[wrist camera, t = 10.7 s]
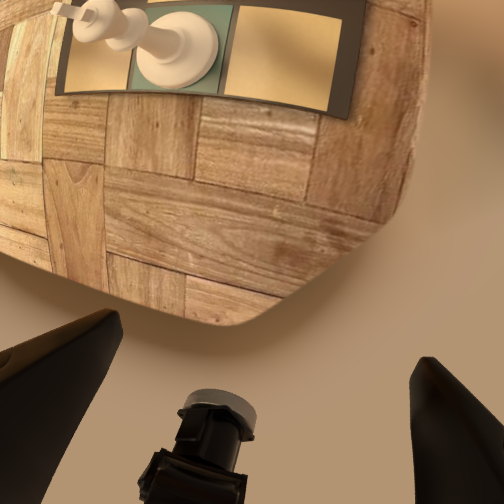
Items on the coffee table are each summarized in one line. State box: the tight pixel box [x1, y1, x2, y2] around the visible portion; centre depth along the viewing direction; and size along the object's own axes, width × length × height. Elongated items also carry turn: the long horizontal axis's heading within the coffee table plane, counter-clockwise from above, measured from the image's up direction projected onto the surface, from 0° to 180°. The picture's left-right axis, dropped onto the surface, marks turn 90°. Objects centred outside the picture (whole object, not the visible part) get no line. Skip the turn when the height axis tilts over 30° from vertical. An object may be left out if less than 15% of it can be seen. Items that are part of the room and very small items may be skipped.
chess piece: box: [50, 0, 218, 89], centre depth 10 cm, size 5×5×10 cm
